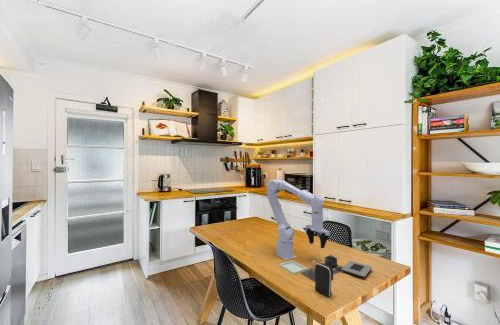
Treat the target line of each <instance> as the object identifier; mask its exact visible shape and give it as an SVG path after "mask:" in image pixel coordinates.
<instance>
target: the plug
mask: <svg viewBox="0 0 500 325" xmlns="http://www.w3.org/2000/svg"><path fill="white" fill-rule="evenodd" d="M319 263H323V264H324V263H325V261H322V260H321V259H319V258H317V259H314V260H311V267H312V270H314V271H315V266H316V265H317V264H319Z"/></svg>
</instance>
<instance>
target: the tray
mask: <svg viewBox="0 0 500 325" xmlns="http://www.w3.org/2000/svg"><path fill="white" fill-rule="evenodd" d="M278 266H279V267H280V268H282V269H284V270H286V271H287V272H289V273H290V274H292V275H296V274H300V273H302V272H304V271H307V270H308V267H307V266H304V265H303V264H300V263H298V262H296V261H295V260H292V259H290V260H289V261H285V262H282V263H279V264H278Z"/></svg>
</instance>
